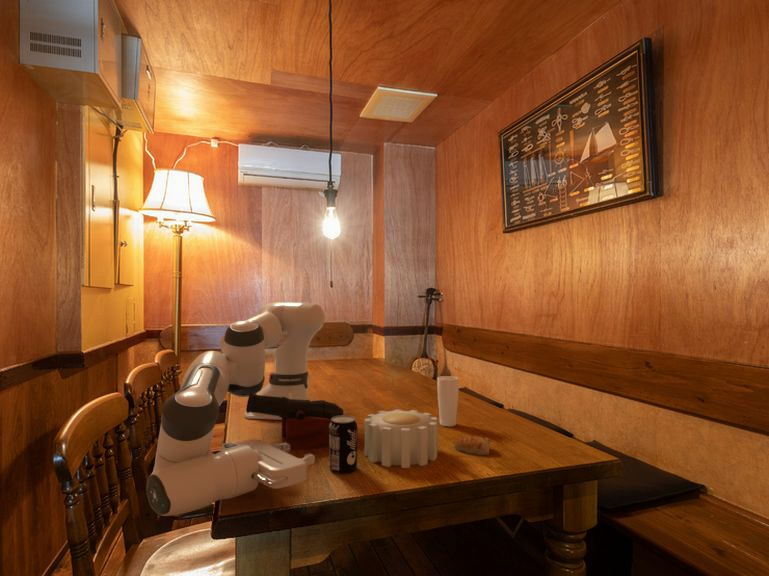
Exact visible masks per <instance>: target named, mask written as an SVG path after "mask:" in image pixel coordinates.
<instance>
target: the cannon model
mask: <svg viewBox="0 0 769 576" xmlns="http://www.w3.org/2000/svg"><path fill="white" fill-rule="evenodd" d="M245 412H247V413H249V412H251V413H253V412H254V413H261V414H268V415H274V416H279V417H282V420H281V441H282V443H288V444H290V451H289V452H294V451H303V450H310V449H318V448H326V447H327V448H329V431H330V423H331V421H332V420H331V419H332V418H333V417H335V416H341V415H344V409H343V408H341V407H340V406H339V405H338V404H336V403H334V402H330V401H329V402H328V401H325V399H323V400H320V399H317V400H310V399H309V400H296V399H289V398H286V397H282V398H281V397H272V396H262V395H257V393H256V394H253V393H251V394H250V395H249V396H248V397H247V403H246V409H245Z"/></svg>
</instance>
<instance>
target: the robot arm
mask: <svg viewBox="0 0 769 576" xmlns="http://www.w3.org/2000/svg"><path fill="white" fill-rule="evenodd" d="M325 315H326V314H325V311H324V309H323V307H322V306H320V305H319V304H316V303H313V302H308V301H274V302H269V303H266V304H264V305H262V307H260V310H259V311H258V314H257V315H254V316H252V317H250V318H248V319H246V320H239V321H236V322H233V323H231V324H230V325H229V326H228V327H227V328H226V330H225V332H224V333H223V335H222V336H221V338H220V342H219V344H220V345H219V346H220V350H221V352H220V351H216V350H207V351H204V352H202V353H200V354H199V355H198V356H197V357H196V358H195V359H194V360H193V361H192V362H191V364H190V365H189V366H188V368H187V370H186V372H185V373H184V376H183V379H182V381H181V385H180V389H179V390H177V391H176V392H175V393H173V394H172V395H170V396H169V397H168V398H167V399H166V400H165V401H164V403H163V405H162V407H161V417H160V418H161V419H160V421H161V422H160V428H159V434H158V439H157V447H156V453H155V460H154V466H153V471H152V472H151V474H150V475H149V476H148V479H147V480H146V486H145V487H146V495H147V499H148V503H149V506H150V507H151V509H152V510H153V511H154V513H156V514H157V515H159V516H163V517H171V516H178V515H183V514H188V513H191V512H193V511H197V510H200V509H204V508H206V507H209V506H211V505H212V504H213V503H216V502H218V501H220V500H229V499H233V498H235V497H238V496H242V495H244V494H247V493H251V492H254V491H255V490H256V489H257V488H258V486H259V483H260V484H261V485H262V486H267V487H268V488H270V489H274V490H275V489H282V488H288V487H290V486H294V485H297V484H301V483H303V482H305V481H306V480H307V478H308V467H309V466H310V465H313V464H315V460H316V457H315V455H314V454H312V453H307V454H303V457H302V458H301V457H296V456H294V455H293V454H291V453H289V452H291V451H290V444H288V443H283V442H282V443H270V444H269V443H267V442H265V441H263V440H261V439H254V438H253V439H247V440H242V441H237V442H223V443H222V444H221V447H220V451H219V452H217V453H213V452H212V450H211V446H212V440H213V435H214V432H215V428H216V423H217V420H218V416H219V412H220V406H221V404H222V403H223V402H224V400H225V398H226V396H227V394H228V393H229V394H231V395H233V396H236V397H239V398H241V397H242V398H249V395H250V394H251V393H253V394H254V395H255V394H257V395H262V396H272V397H281V398H282V397H286V398H289V399H296V400H310V399H309V391H308V388H309V372H308V353H309V348H310V345H311V341H312V339H313V338H314V336H315V335H316V334H317V333H318V332H319V331H321V329H322V328H323V326H324V323H325V320H326V319H325V318H326V317H325ZM283 334H286V339H285V341H284V342H283V344H281V345H280V346H278V347H277V348H276V350H275V352H274V371H271V372H270V373H269V375H268V383H267V385H266V386H264V383H265V379H266V378H265V370H266V351H265V350H267V349H268V348H270V347H272V346H275V344H278V342H279V341H280V340H281V338H282V335H283ZM263 386H264V387H263ZM244 418H246V419H253V420H255V419H256V420H257V419H258V420H277V421H278V420H279V421H280V420H281V421H282V417H279V416H274V415H268V414H261V413H254V412H253V413H251V412H249V413H247V412H246V411H245V412H244Z"/></svg>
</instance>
